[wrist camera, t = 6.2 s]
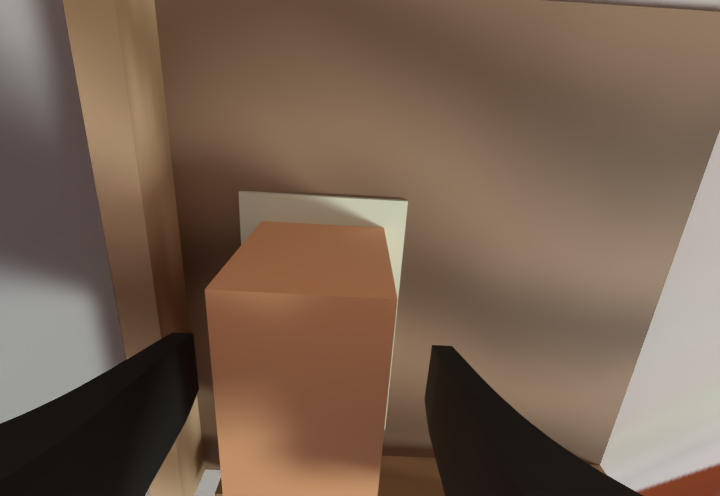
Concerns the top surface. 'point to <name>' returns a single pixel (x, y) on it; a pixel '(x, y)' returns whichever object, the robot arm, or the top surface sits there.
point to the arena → (410, 181)
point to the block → (302, 360)
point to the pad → (329, 218)
